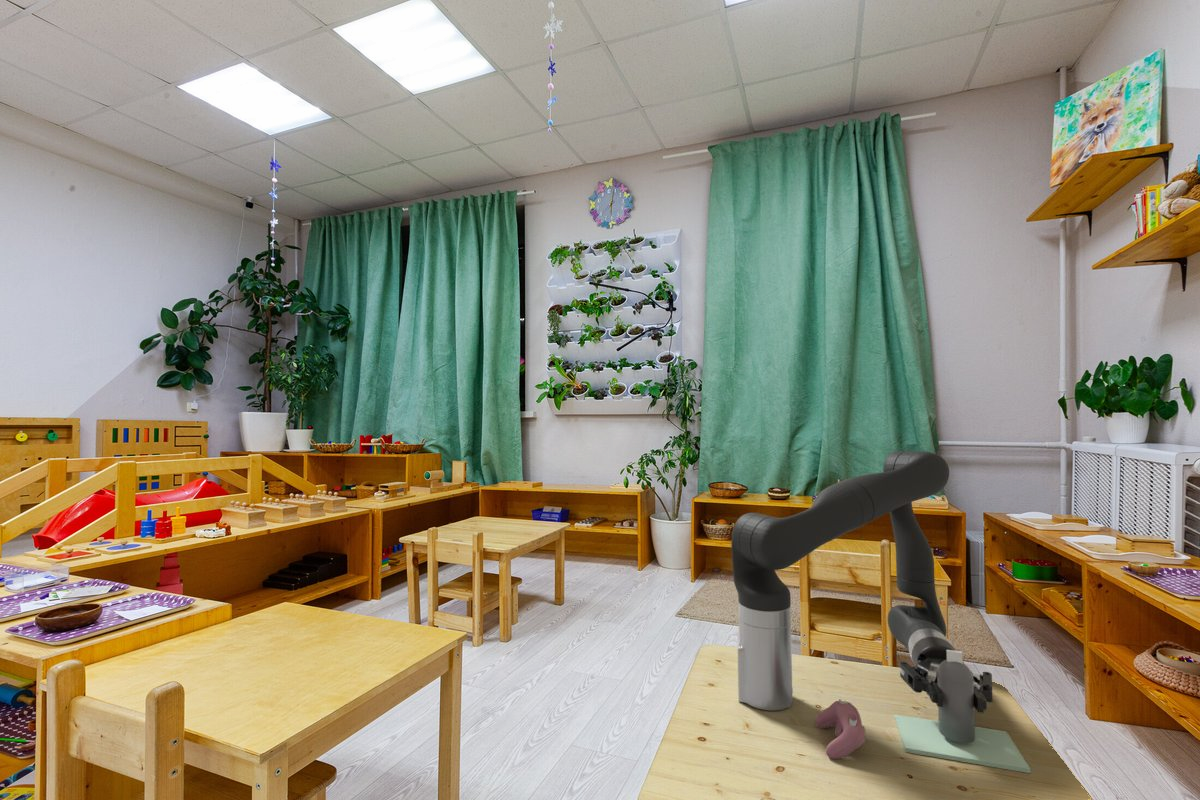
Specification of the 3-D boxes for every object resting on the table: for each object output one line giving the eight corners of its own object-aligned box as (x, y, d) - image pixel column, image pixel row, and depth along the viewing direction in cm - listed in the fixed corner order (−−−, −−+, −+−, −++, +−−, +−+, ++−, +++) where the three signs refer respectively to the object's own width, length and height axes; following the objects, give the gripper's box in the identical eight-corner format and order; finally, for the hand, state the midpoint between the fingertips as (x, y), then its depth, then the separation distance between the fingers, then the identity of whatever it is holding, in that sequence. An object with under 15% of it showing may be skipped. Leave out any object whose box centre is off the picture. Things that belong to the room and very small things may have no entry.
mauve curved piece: (853, 773, 83) (875, 732, 82) (824, 757, 84) (845, 716, 83) (837, 736, 92) (856, 699, 92) (811, 721, 93) (830, 684, 93)
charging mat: (905, 751, 85) (905, 747, 85) (894, 718, 95) (894, 714, 95) (1030, 773, 80) (1030, 769, 80) (1006, 735, 89) (1006, 731, 89)
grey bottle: (942, 739, 86) (940, 655, 86) (935, 723, 91) (933, 643, 91) (979, 745, 84) (976, 659, 85) (970, 728, 89) (967, 647, 89)
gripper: (890, 631, 104) (907, 672, 87) (980, 641, 99) (1015, 686, 83) (891, 672, 103) (908, 720, 87) (981, 683, 99) (1017, 737, 83)
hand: (960, 703), depth 85 cm, fingers closed on grey bottle, 4 cm apart
